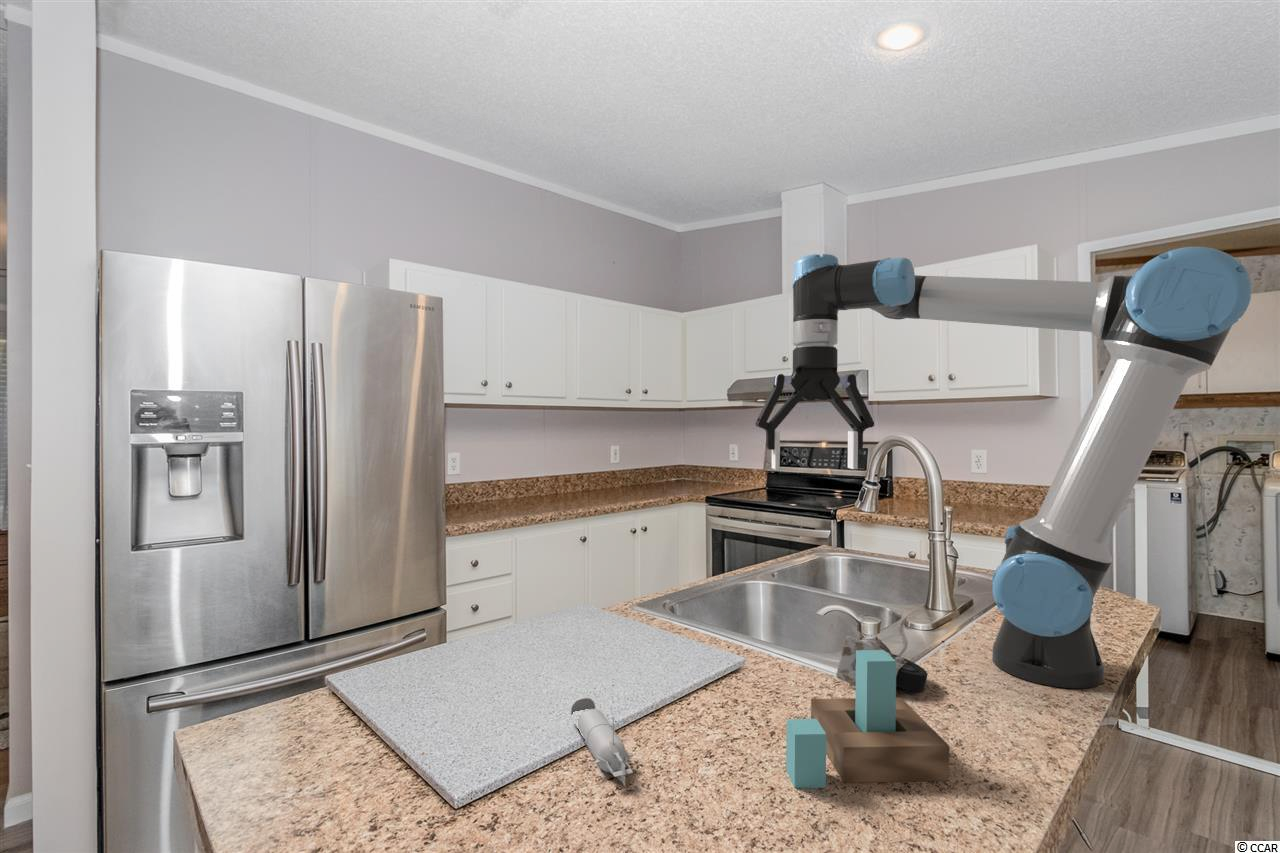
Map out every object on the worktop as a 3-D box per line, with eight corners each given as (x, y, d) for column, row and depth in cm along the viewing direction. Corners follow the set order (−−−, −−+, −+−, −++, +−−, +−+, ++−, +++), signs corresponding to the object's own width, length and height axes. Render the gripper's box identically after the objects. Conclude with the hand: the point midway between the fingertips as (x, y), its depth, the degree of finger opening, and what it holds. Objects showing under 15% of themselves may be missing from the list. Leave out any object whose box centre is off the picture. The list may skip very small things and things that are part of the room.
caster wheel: (924, 698, 98) (911, 713, 90) (852, 666, 104) (834, 677, 96) (936, 656, 98) (923, 668, 89) (863, 627, 104) (846, 635, 96)
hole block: (901, 727, 83) (901, 697, 83) (948, 780, 71) (949, 745, 71) (810, 729, 83) (811, 699, 83) (843, 782, 71) (843, 747, 71)
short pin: (815, 769, 74) (816, 718, 73) (825, 787, 70) (826, 733, 70) (786, 770, 73) (786, 719, 73) (794, 788, 70) (795, 734, 70)
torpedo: (562, 721, 85) (561, 673, 85) (595, 715, 87) (595, 668, 87) (604, 797, 69) (604, 737, 68) (645, 787, 70) (645, 729, 70)
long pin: (882, 745, 79) (883, 649, 79) (895, 760, 75) (896, 661, 75) (855, 745, 79) (855, 650, 78) (866, 761, 75) (867, 661, 75)
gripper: (748, 344, 106) (747, 470, 106) (895, 344, 107) (893, 470, 107) (739, 348, 113) (739, 466, 114) (876, 349, 114) (875, 466, 115)
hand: (814, 468), depth 110 cm, fingers open, 13 cm apart
